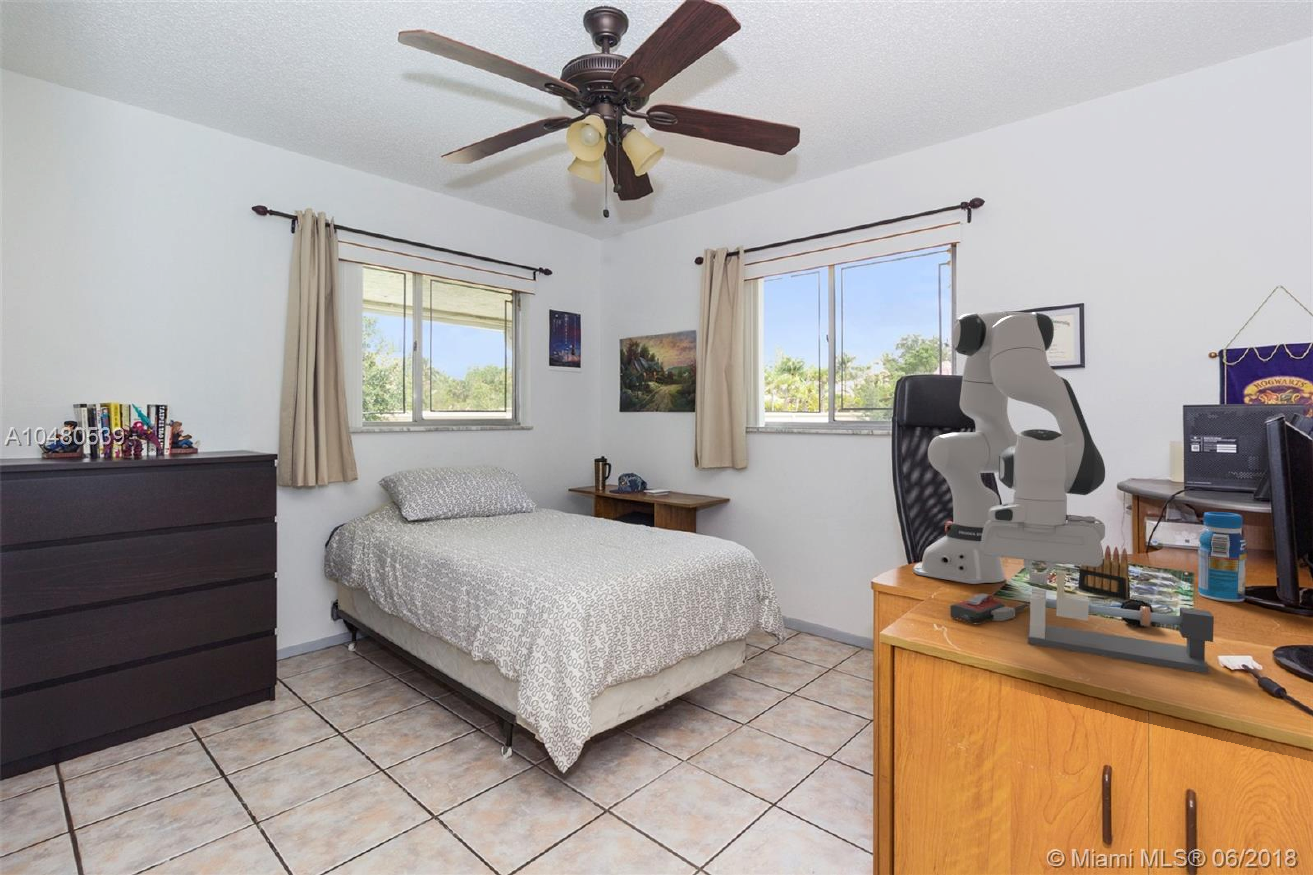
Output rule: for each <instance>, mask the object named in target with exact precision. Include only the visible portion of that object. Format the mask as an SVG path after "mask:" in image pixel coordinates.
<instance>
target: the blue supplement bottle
mask: <svg viewBox="0 0 1313 875" xmlns="http://www.w3.org/2000/svg"><path fill="white" fill-rule="evenodd" d="M1203 527H1206V529H1205V530H1203V532H1202V533H1201V535H1200V536H1199V539H1198V542H1199V544H1200V546H1199V547H1198V550H1197V554H1198V586H1197V587H1198V588H1197V593H1198V595H1199V596H1201V597H1202V598H1206V599H1209V600H1213V601H1219V602H1228V603H1241V602H1244V600H1245V598H1246V597H1245V592H1246V591H1245V590H1246V587H1245V586H1246V561H1247V553H1246V551H1245V548H1246V547H1247V542H1246V540H1245V538H1244V537H1243V535H1242V534H1241V533H1240V532H1239V530H1242V528H1243V516H1242V515H1241V514H1239V513H1232V512H1224V511H1207V512H1206V511H1205V512H1204V514H1203Z"/></svg>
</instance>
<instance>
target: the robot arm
mask: <svg viewBox="0 0 1313 875" xmlns="http://www.w3.org/2000/svg"><path fill="white" fill-rule="evenodd" d="M1054 329H1055V328H1054V322H1053V320H1052V319H1051V317H1050V316H1049V315H1047V314H1044V313H1039V312H1031V313H1030V312H1022V311H1009V310H1008V311H995V312H993V311H992V312H982V313H977V312H971V313H965V314H962V315H960V317H958V318H957V319H956V321H955V324H954V326H953V328H952V331H951V342H952V346H953V349H954V350H955V352H956V353H958V354H959V355H963V356H966V360H965V364H964V365H963V366H964V367H963V373H962V380H961V390H960V398H959V408H960V410H961V411H962V413H963V414H964V415H965V416H966V417H969V418H970V419H971V420H973V421H974V425H975V430H974V432H971V431H970V432H969V431H968V432H966V431H965V432H950V433H945V434H939V435H937V436H935V437H934V438H932V440H931V441H930V442H929V445H928V447H927V458H928V461H929V463H930V465H931V466H932V467H933V468H934V470H936V471H937V472H939V473H940V474H941V475H942V476H943V478H944V479H945V480H946V482H947V484H948V486H949V488H950V492H951V495H952V496H951V497H952V510H953V515H952V516H953V519H952V520H953V521H950V520H949V521H947V522H946V523H945V524H944V533H945V535H944V536H943V537H941V538H939V539H938V540H936V541H935V542H933V543H932V544H930V545H929V546H927V547H926V548H925V550H924V552H923V555H922V561H921V562H918V563H916V564H915V565H914V566H913V573H914V574H916V575H918V576H924V577H929V578H935V579H942V580H949V581H954V582H958V583H965V584H969V585H971V584H972V585H978V584H985V583H986V584H987V583H991V584H992V583H1001V582H1004V581H1006V579H1007V577H1006V574H1005V572H1004V571H1005V570H1004V567H1003V563H1002V562H1003V561H1002V558H1006V559H1015V560H1016V559H1018V560H1023V566H1024V568H1025V570H1026V572H1027V573H1028V574H1029V583H1030V584H1037V585H1038V584H1039V585H1045V586H1048V577H1049V576H1050V575H1051V573H1052V572H1053V571H1054V569H1055V564H1063V565H1064V564H1065V565H1073V566H1081V565H1082V566H1091V567H1098V566H1100V565H1101V564H1102V563H1103V560H1104V556H1103V557H1102V549H1103V546H1102V547H1101V545H1102V542H1101V541H1102V540H1103V539H1104V538H1105V537H1106V525H1105V524H1104V522H1103V521H1102V520H1100V519H1099V518H1096V517H1094V516H1090V515H1089V516H1088V515H1087V516H1083V515H1075V514H1068V513H1067V512H1068V496H1067V494H1070V495H1077V496H1078V495H1080V496H1087V495H1089V494H1091V493H1092V492H1094V491H1096V490H1097V489H1098V488H1099V487H1101V485H1103V483H1104V481H1105V479H1106V468H1105V467H1106V466H1105V462H1104V459H1103V456H1102V455H1101V452H1100V451H1099V449H1098V447H1097V446H1096V444H1095V441H1094V439H1093V438H1092V435H1091V433H1090V430H1089V428H1088V424H1087V422H1086V420H1085V417H1084V414H1083V412H1082V409H1081V406H1080V403H1079V401H1078V399H1077V396H1076V394H1075V392H1074V390H1073V388H1072V386H1071V384H1070V382H1069V381H1068V380H1067V379H1066V378H1064V377H1062V376H1060V375H1059V374H1057V373H1056V371H1054V370H1053V368H1052V367H1051V365H1050V364H1049V362H1048V358H1047V351H1048V350H1049V349H1050V347H1051V345H1052V343H1053V339H1054V337H1055V336H1054V334H1055V330H1054ZM1009 398H1010V399H1012V400H1015V401H1018V402H1023V403H1025V404H1030V405H1033V406H1036V407H1039V408H1041V409H1043V410H1045V411H1047V412H1048V413H1050V414H1052V415H1053V417H1054V418H1055V420H1056V423H1057V425H1058V427H1059V431H1060V432H1058V431H1056V430H1051V429H1039V428H1037V429H1035V428H1034V429H1033V428H1032V429H1027V430H1023V431H1021V432H1019V433H1016V432H1015V430H1014V429H1013V427H1012V425H1011V422H1010V420H1009V414H1008V402H1009V401H1008V400H1009ZM989 473H990V474H991V473H993V474H994V473H996V474H997V473H998V481H1000V482H1001V483H1002V484H1003V485H1004V486H1005V487H1007V488H1008V489H1009V490H1010V489H1011V490H1014V493H1013V502H1009V503H1002V504H1000V501H1001V500H1000V497H999V495H998V494H997V493H996V492H995V491H994V490H993V489H991V488H989V487H987V486H985V484H984V482H983V480H982V477H981V474H989ZM1033 561H1035V562H1044V563H1045V568H1047V569H1046V570H1044V572H1043V573H1041V572H1040V573H1039V572H1035V571H1034V570H1033V568H1032V565H1033Z"/></svg>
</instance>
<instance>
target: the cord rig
mask: <svg viewBox="0 0 1313 875" xmlns="http://www.w3.org/2000/svg"><path fill="white" fill-rule="evenodd" d="M1029 607H1030V608H1029V609H1030V611H1029V613H1030V614H1029V615H1030V616H1029V628H1028V633H1027V634H1028V635H1027V644H1030V645H1035V646H1036V645H1037V646H1042V647H1047V648H1055V649H1060V650H1066V651H1071V652H1077V653H1083V654H1089V655H1096V656H1101V657H1107V658H1113V659H1117V660H1118V659H1120V660H1124V661H1125V660H1126V661H1131V662H1136V663H1137V662H1138V663H1141V664H1148V665H1154V666H1160V667H1165V668H1172V669H1176V670H1177V669H1178V670H1183V671H1190V672H1194V673H1195V672H1196V673H1200V674H1208V675H1209V673H1210V672H1209V668H1210V667H1209V665H1208V663H1207V662H1206V660H1205V659H1206V658H1205V657H1206V656H1205V655H1206V654H1205V653H1206V642H1210V643H1214V627H1215V626H1214V622H1215V620H1214V618H1215V617H1214V615H1213V613H1212V612H1211V611H1210V610H1205V609H1197V608H1196V609H1195V608H1189V607H1181V606H1180V607H1179V615H1173V614H1165V613H1158V612H1153V613H1151V612H1150V607H1144V606H1141V608H1140V611H1136V610H1129V609H1121V607H1111V606H1104V605H1097V604H1090V603H1089V613H1088V614H1095V615H1102V616H1110V617H1117V618H1121V619H1122V618H1129V619H1136V620H1140V623H1141V625H1143V626H1145V627H1150V626H1151V625H1150V623H1151V622H1152V623H1160V624H1167V625H1173V626H1178V629H1179V631H1178V632H1179V633H1180V635H1181V637H1182V638H1184V639H1186V645H1181V644H1174V643H1169V642H1163V641H1155V640H1150V639H1149V640H1148V639H1142V638H1135V637H1128V636H1124V635H1123V636H1122V635H1115V634H1109V633H1105V632H1104V633H1103V632H1097V631H1091V630H1082V629H1077V628H1070V627H1063V626H1057V625H1050V624H1047V623H1046V622H1047V620H1046V619H1047V617H1046V614H1047V608H1051V609H1052V608H1053V609H1057V599H1054V598H1053V599H1052V598H1047V589H1044V588H1036V587H1032V588H1031V593H1030V604H1029ZM1152 623H1151V624H1152Z"/></svg>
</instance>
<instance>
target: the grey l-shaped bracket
mask: <svg viewBox="0 0 1313 875" xmlns="http://www.w3.org/2000/svg"><path fill="white" fill-rule="evenodd" d="M1065 574H1066V572H1065V570H1059V569H1058V570H1057V571H1056V575H1057V576H1056V600H1057V608H1056V617H1061V618H1069V619H1074V620H1075V619H1077V620H1082V621H1089V614H1090V613H1089V604H1090V603H1089V602H1090V600H1089V597H1088V596H1086V595H1078V594H1070V593H1065V582H1066V581H1065V580H1066V579H1065V577H1066V576H1065Z"/></svg>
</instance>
